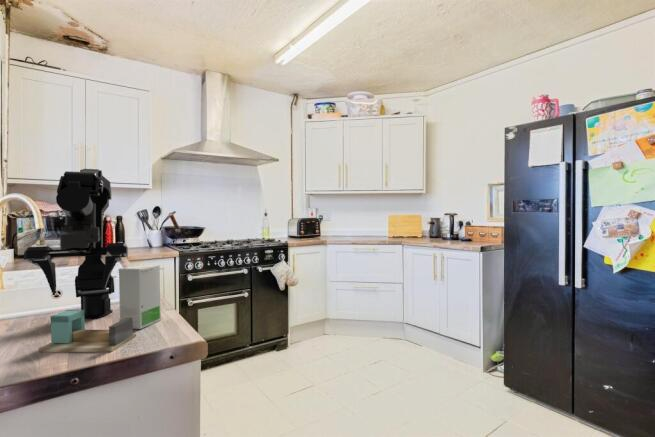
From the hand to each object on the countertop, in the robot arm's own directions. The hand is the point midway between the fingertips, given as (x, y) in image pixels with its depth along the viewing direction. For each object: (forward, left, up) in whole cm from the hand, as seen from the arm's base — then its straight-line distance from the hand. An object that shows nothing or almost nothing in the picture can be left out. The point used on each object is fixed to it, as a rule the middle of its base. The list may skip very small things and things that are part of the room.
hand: (79, 290), depth 76 cm
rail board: (+1, +1, -13) cm, 13 cm away
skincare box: (+5, +15, -13) cm, 20 cm away
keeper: (-4, +1, -11) cm, 12 cm away
